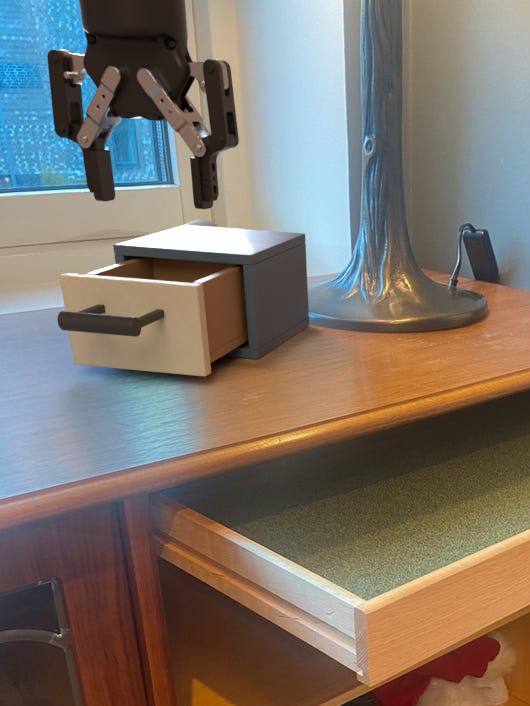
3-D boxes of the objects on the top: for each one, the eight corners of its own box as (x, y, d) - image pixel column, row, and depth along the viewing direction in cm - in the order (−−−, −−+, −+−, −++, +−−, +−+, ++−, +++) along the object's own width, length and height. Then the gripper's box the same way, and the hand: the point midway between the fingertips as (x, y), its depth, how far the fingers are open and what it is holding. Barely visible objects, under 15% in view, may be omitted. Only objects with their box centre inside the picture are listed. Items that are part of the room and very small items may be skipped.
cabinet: (258, 359, 87) (251, 255, 82) (127, 347, 88) (112, 244, 84) (309, 325, 99) (305, 233, 95) (193, 315, 101) (184, 224, 97)
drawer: (175, 396, 73) (164, 300, 69) (35, 382, 74) (17, 287, 71) (264, 340, 89) (259, 260, 86) (148, 329, 91) (138, 250, 87)
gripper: (241, -28, 72) (254, 206, 80) (65, -37, 74) (96, 193, 82) (199, -40, 66) (218, 216, 74) (7, -50, 67) (47, 202, 76)
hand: (154, 204), depth 78 cm, fingers open, 8 cm apart
